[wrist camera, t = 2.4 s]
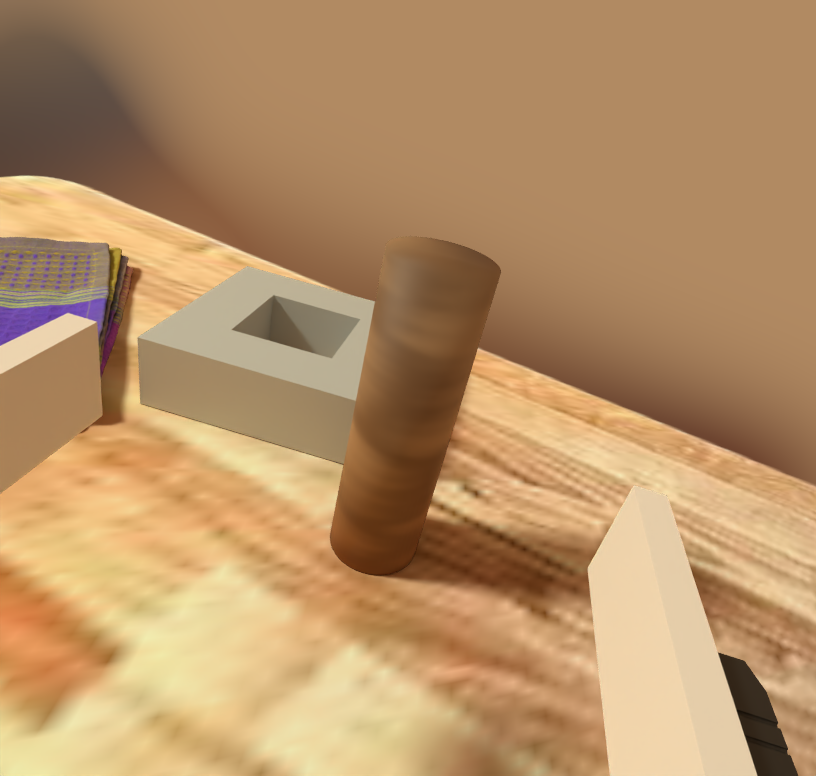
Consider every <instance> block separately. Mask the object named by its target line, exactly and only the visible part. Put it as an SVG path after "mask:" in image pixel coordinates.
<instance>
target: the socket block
mask: <svg viewBox="0 0 816 776" xmlns="http://www.w3.org/2000/svg"><path fill="white" fill-rule="evenodd" d="M374 304H375V302H374V301H371V300H367V299H364V298H359V297H356V296H353V295H349V294H346V293H342V292H338V291H335V290H331V289H328V288H324V287H320V286H317V285H313V284H309V283H306V282H302V281H299V280H295V279H291V278H288V277H284V276H281V275H277V274H273V273H270V272H266V271H263V270H259V269H255V268H252V267H248V266H247V267H245V268H244V269H242V270H241V271H239V272H238V273H236V274H235V275H233V276H232V277H230V278H228V279H227V280H225V281H224V282H222V283H221V284H219V285H218V286H216V287H215V288H213V289H211V290H210V291H208V292H207V293H205V294H204V295H202V296H201V297H199V298H198V299H196V300H194V301H193V302H191V303H190V304H188V305H187V306H185V307H184V308H182V309H181V310H179V311H178V312H176V313H174V314H173V315H171V316H170V317H168V318H167V319H165V320H164V321H162V322H161V323H159V324H157V325H156V326H154V327H153V328H151V329H150V330H148V331H147V332H145V333H144V334H142V335H140V336H139V337H138V359H139V383H140V403H141V404H144V405H147V406H151V407H154V408H157V409H161V410H164V411H167V412H171V413H174V414H177V415H181V416H184V417H187V418H191V419H194V420H197V421H201V422H204V423H207V424H211V425H214V426H217V427H221V428H224V429H227V430H231V431H234V432H238V433H241V434H244V435H248V436H251V437H254V438H258V439H261V440H264V441H268V442H271V443H274V444H278V445H281V446H284V447H288V448H291V449H294V450H298V451H301V452H304V453H308V454H311V455H314V456H318V457H321V458H324V459H328V460H331V461H334V462H338V463H341V464H344V460H345V455H346V450H347V444H348V439H349V434H350V429H351V424H352V418H353V413H354V408H355V403H356V397H357V392H358V387H359V382H360V377H361V371H362V366H363V361H364V356H365V351H366V345H367V340H368V335H369V330H370V325H371V319H372V314H373V309H374Z"/></svg>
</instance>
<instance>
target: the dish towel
mask: <svg viewBox="0 0 816 776" xmlns="http://www.w3.org/2000/svg"><path fill="white" fill-rule="evenodd" d="M127 263H128V257H126V256H122V250H121V249H120V248H111V249H110V248H109V245H108V244H107V243H86V242H64V241H55V240H50V239H40V238H25V237H7V238H1V237H0V346H1V345H3V344H5V343H7V342H9V341H11V340H13V339H15V338H17V337H20V336H22V335H24V334H26V333H28V332H30V331H32V330H34V329H36V328H38V327H40V326H42V325H44V324H46V323H48V322H50V321H52V320H54V319H56V318H59V317H61V316H63V315H65V314H67V313H70V314H73V315H76V316H80V317H83V318H86V319H89V320H93V321H96V322H97V326H98V343H99V360H100V377H102V374H103V370H104V367H105V365H106V362H107V360H108V358H109V355H110V353H111V351H112V347H113V345H114V342H115V339H116V336H117V333H118V328H119V326H120V323H121V320H122V315H123V310H124V306H125V303H126V299H127V296H128V293H129V289H130V283H131V275H132V273H133V269H132V268H131V267H129V266H127Z"/></svg>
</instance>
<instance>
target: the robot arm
mask: <svg viewBox="0 0 816 776" xmlns="http://www.w3.org/2000/svg"><path fill="white" fill-rule="evenodd" d="M101 416H103V412H102V395H101V377H100V360H99V343H98V326H97V322H96V321H93V320H89V319H86V318H83V317H80V316H76V315H73V314H70V313H67V314H65V315H63V316H61V317H59V318H56V319H54V320H52V321H50V322H48V323H46V324H44V325H42V326H40V327H38V328H36V329H34V330H32V331H30V332H28V333H26V334H24V335H22V336H20V337H17V338H15V339H13V340H11V341H9V342H7V343H5V344H3V345H1V346H0V494H1V493H2V492H3V491H5V490H6V489H7V488H8V487H10V486H11V485H12V484H14V483H15V482H16V481H18V480H19V479H20V478H22V477H23V476H24V475H26V474H27V473H28V472H29V471H31V470H32V469H33V468H35V467H36V466H37V465H39V464H40V463H41V462H43V461H44V460H45V459H46V458H48V457H49V456H50V455H52V454H53V453H54V452H56V451H57V450H58V449H60V448H61V447H62V446H63V445H65V444H66V443H67V442H69V441H70V440H71V439H73V438H74V437H75V436H77V435H78V434H79V433H81V432H82V431H83V430H84V429H86V428H87V427H88V426H90V425H91V424H92V423H94V422H95V421H96V420H98V419H99V418H100V417H101ZM588 577H589V587H590V596H591V605H592V614H593V624H594V633H595V642H596V651H597V660H598V670H599V679H600V688H601V697H602V707H603V716H604V725H605V734H606V744H607V753H608V762H609V771H610V776H798V774H797V771H796V768H795V766H794V763H793V761H792V758H791V756H790V755H788V754H787V750H788V747H787V745H786V742H785V740H784V737H783V734H782V732H781V729H779V728H777V724H778V721H777V719H776V716H775V713H774V711H773V708H772V706H771V703H770V700H769V698H768V695H767V692H766V691H765V689H764V688H763V686H762V685H761V684H760V682H759V681H758V679H757V678H756V676H755V675H754V674H753V672H752V671H751V669H750V668H749V667H748V665H747V664H746V662H745V661H743V660H740V659H737V658H734V657H730V656H727V655H724V654H721V653H718V652H717V649H716V646H715V642H714V639H713V636H712V633H711V630H710V627H709V624H708V621H707V618H706V614H705V611H704V608H703V605H702V602H701V599H700V596H699V593H698V590H697V586H696V583H695V580H694V577H693V574H692V571H691V568H690V565H689V562H688V559H687V555H686V552H685V549H684V546H683V543H682V540H681V537H680V534H679V531H678V527H677V524H676V521H675V518H674V515H673V512H672V509H671V506H670V503H669V500H668V496H667V495H664V494H661V493H658V492H655V491H651V490H648V489H645V488H641V487H638V486H635V485H634V486H633V487H632V489H631V491H630V493H629V495H628V496H627V498H626V500H625V502H624V504H623V505H622V507H621V509H620V511H619V513H618V514H617V516H616V518H615V520H614V522H613V523H612V525H611V527H610V529H609V531H608V532H607V534H606V536H605V538H604V540H603V541H602V543H601V545H600V547H599V549H598V550H597V552H596V554H595V556H594V558H593V559H592V561H591V563H590V565H589V566H588Z"/></svg>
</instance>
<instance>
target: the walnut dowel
mask: <svg viewBox="0 0 816 776" xmlns="http://www.w3.org/2000/svg"><path fill="white" fill-rule="evenodd" d="M500 274H501V270H500V267H499V266H498V265H497V264H496V263H495V262H494V261H493V260H491V259H490V258H488V257H487V256H485V255H483V254H481V253H479V252H477V251H475V250H472V249H470V248H467V247H464V246H461V245H458V244H455V243H451V242H447V241H443V240H438V239H432V238H426V237H412V236H409V237H398V238H394V239H391V240H389V241H388V242H387V243H386V247H385V252H384V257H383V262H382V267H381V273H380V278H379V283H378V288H377V293H376V299H375V304H374V309H373V314H372V319H371V325H370V330H369V335H368V340H367V345H366V351H365V356H364V361H363V366H362V371H361V377H360V382H359V387H358V392H357V397H356V403H355V408H354V413H353V418H352V424H351V429H350V434H349V439H348V444H347V450H346V455H345V460H344V465H343V470H342V476H341V481H340V486H339V491H338V496H337V502H336V507H335V512H334V517H333V522H332V528H331V533H330V542H331V546H332V549H333V550H334V552H335V554H336V555H337V557H338V558H339V559H340V560H341V561H342V562H343V563H345V564H346V565H347V566H349V567H351V568H352V569H354V570H356V571H359V572H362V573H366V574H371V575H387V574H392V573H395V572H398V571H400V570H402V569H403V568H405V567H406V566H407V565H408V564H409V563H410V562H411V561H412V559H413V557H414V555H415V552H416V548H417V545H418V542H419V539H420V535H421V532H422V529H423V525H424V522H425V519H426V516H427V512H428V509H429V506H430V503H431V499H432V496H433V493H434V490H435V486H436V483H437V480H438V476H439V473H440V470H441V467H442V463H443V460H444V457H445V454H446V450H447V447H448V444H449V440H450V437H451V434H452V431H453V427H454V424H455V421H456V418H457V414H458V411H459V408H460V405H461V401H462V398H463V395H464V391H465V388H466V385H467V382H468V378H469V375H470V372H471V369H472V365H473V362H474V359H475V356H476V352H477V349H478V346H479V342H480V339H481V336H482V332H483V329H484V326H485V323H486V320H487V316H488V312H489V310H490V307H491V303H492V300H493V297H494V293H495V290H496V287H497V284H498V280H499V277H500Z"/></svg>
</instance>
